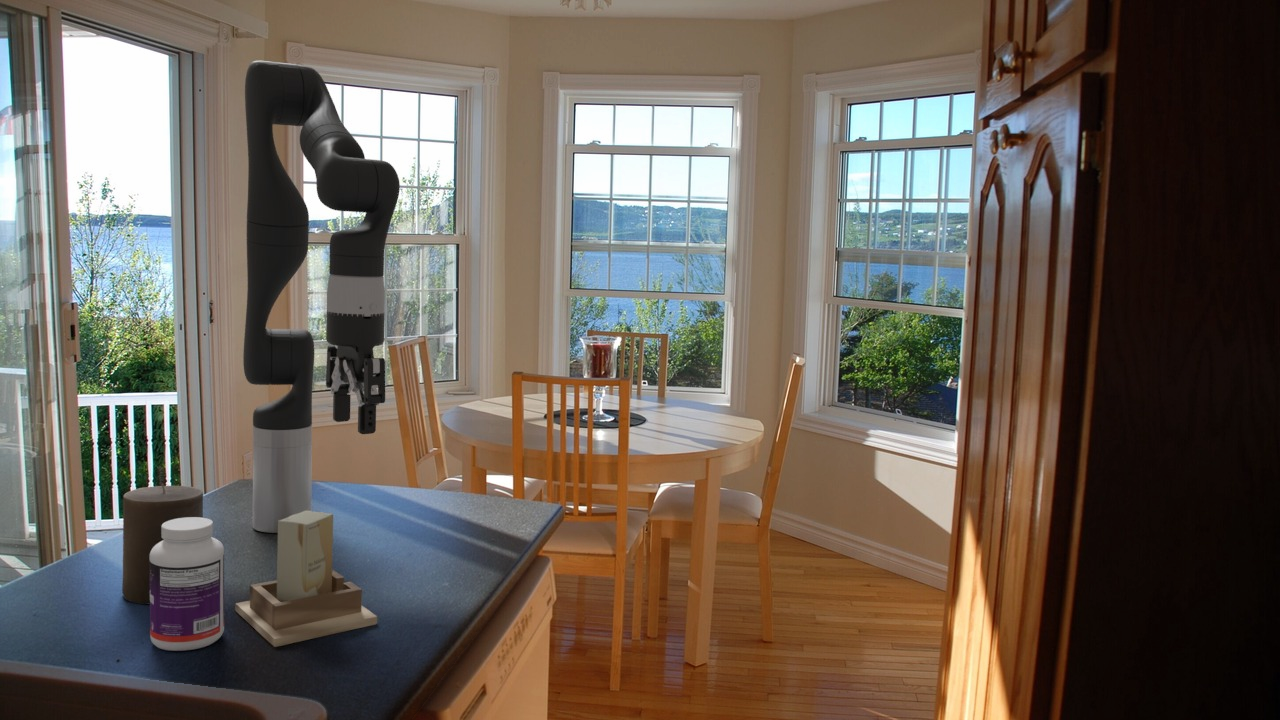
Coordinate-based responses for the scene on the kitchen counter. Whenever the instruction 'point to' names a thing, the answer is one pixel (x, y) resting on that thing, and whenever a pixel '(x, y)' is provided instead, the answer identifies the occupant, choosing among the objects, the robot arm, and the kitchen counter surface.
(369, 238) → the robot arm
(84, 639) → the kitchen counter surface
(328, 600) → the frame
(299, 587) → the skincare box
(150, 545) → the pillar candle
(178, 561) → the pill bottle
